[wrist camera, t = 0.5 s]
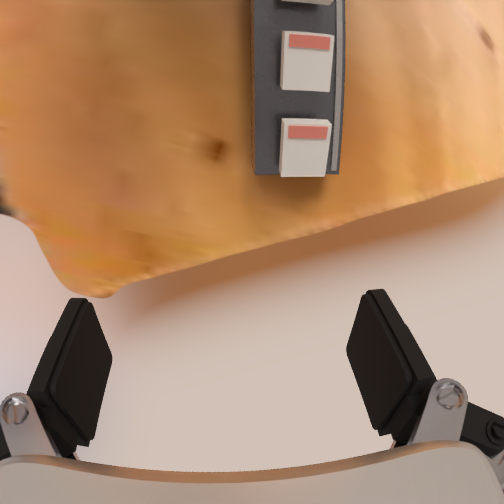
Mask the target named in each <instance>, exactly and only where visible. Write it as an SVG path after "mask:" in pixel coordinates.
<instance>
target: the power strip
mask: <svg viewBox="0 0 504 504" xmlns="http://www.w3.org/2000/svg"><path fill="white" fill-rule="evenodd" d="M250 8H251V110H252V166H253V169H254V173H255V175H270V174H280V172H279V160H280V142H281V124H282V118H300V119H326V120H328V121H329V122H330V123H331V124H332V128H331V136H330V144H329V151H328V158H327V165H326V172H325V174H339V165H340V153H341V139H342V124H343V106H344V81H345V0H334V1H333V2H332V3H331V4H330V5H321V4H312V3H302V2H290V1H282V0H250ZM282 31H298V32H311V33H321V34H330V35H333V36H334V48H333V60H332V71H331V81H330V91H329V92H321V91H303V90H282V88H281V87H280V74H281V48H282Z"/></svg>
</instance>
